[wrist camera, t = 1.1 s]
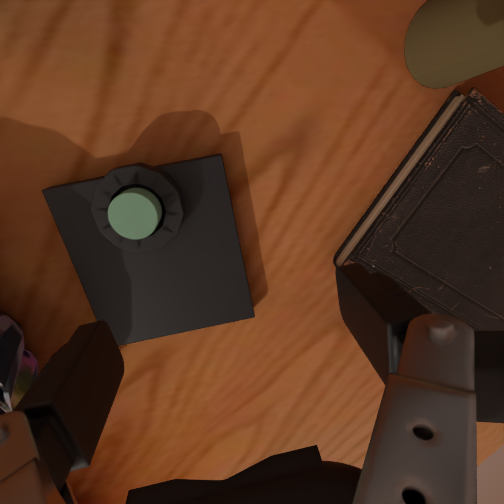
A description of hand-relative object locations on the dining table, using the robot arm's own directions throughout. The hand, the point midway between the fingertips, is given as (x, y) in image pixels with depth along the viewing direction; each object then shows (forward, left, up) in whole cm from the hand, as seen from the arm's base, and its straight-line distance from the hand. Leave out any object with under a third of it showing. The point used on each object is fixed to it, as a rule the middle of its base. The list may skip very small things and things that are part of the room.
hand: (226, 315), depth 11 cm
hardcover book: (+8, +22, -16) cm, 29 cm away
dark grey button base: (+3, -6, -16) cm, 17 cm away
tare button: (-2, -6, -14) cm, 15 cm away
